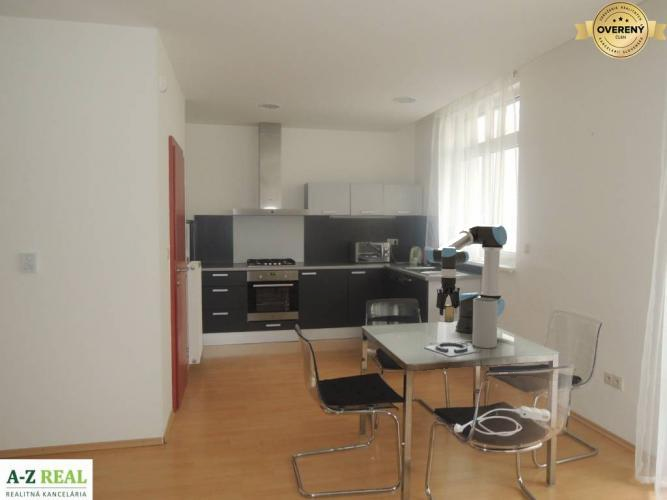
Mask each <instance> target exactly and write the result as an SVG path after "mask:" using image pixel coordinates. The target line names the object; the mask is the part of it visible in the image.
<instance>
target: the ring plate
mask: <svg viewBox="0 0 667 500" xmlns="http://www.w3.org/2000/svg"><path fill="white" fill-rule="evenodd" d="M442 347H443V348H448V352H443V351H439V350H437V349H436V344H433V345H426V346H424V347H423V348H424V349H425V350H429V351H432V352H435V353H437V354H440V355H443V356H446V357H449V358H454V357H459V356H465V355H469V354H476V353H479V352H481V350H479V349H475V348H473V347H469V346H468V349H467V351H466V352H463V353H455V352H454V349H460V348H461V347H457V346H442Z"/></svg>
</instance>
